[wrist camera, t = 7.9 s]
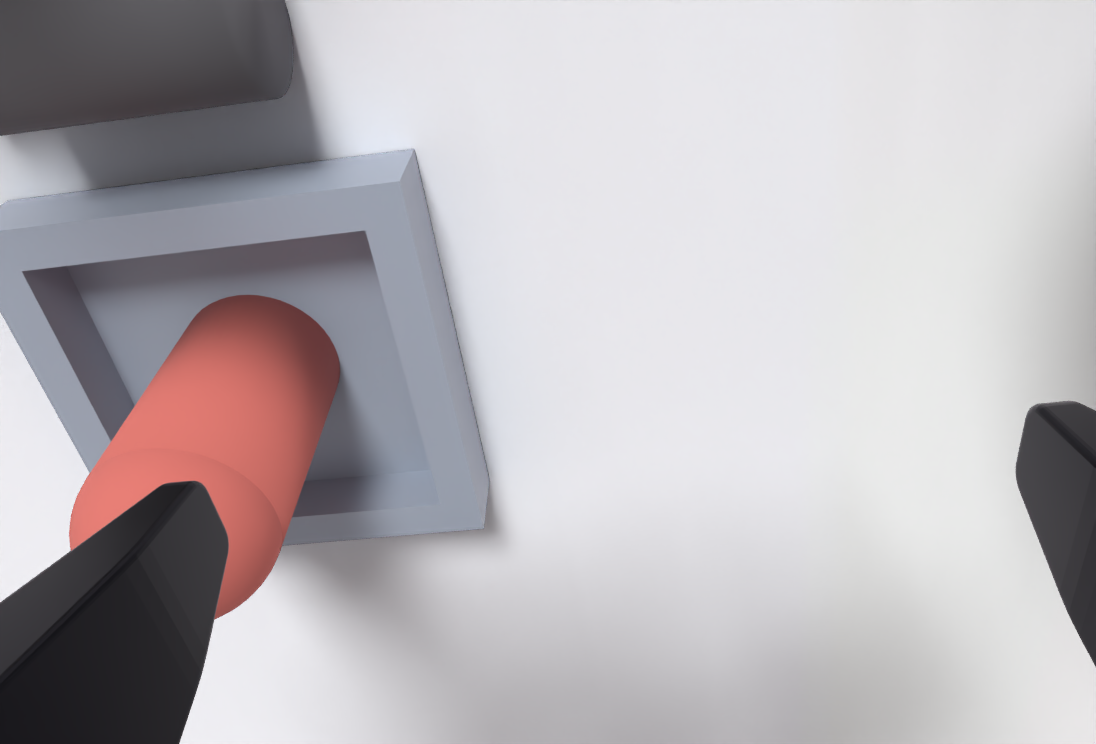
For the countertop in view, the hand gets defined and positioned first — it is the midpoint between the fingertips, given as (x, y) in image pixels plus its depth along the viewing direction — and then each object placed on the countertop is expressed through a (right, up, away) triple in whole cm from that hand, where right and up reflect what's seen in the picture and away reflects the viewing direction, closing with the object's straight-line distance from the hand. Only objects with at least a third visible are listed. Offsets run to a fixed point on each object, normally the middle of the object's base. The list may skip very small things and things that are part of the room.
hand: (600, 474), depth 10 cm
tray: (-8, +2, +14) cm, 16 cm away
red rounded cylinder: (-8, +1, +13) cm, 15 cm away
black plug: (-9, +9, +9) cm, 16 cm away
